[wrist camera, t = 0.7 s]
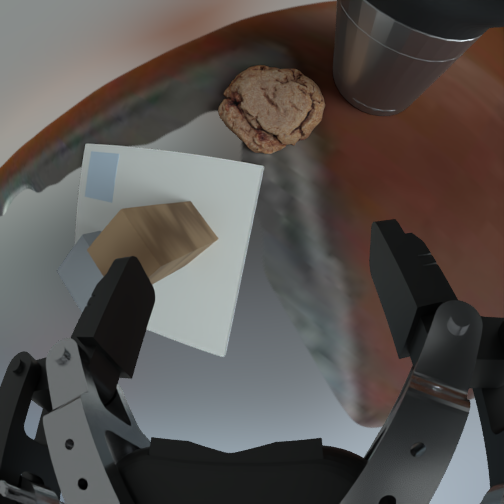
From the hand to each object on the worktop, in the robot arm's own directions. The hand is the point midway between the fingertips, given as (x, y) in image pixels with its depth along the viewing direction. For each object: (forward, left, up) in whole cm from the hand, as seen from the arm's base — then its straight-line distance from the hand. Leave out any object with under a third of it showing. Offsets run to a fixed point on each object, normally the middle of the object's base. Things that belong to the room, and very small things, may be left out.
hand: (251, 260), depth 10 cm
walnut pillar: (+4, -11, -20) cm, 23 cm away
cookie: (-11, -5, -21) cm, 24 cm away
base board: (+7, -16, -21) cm, 27 cm away
